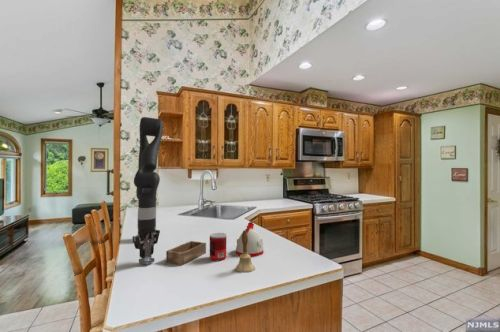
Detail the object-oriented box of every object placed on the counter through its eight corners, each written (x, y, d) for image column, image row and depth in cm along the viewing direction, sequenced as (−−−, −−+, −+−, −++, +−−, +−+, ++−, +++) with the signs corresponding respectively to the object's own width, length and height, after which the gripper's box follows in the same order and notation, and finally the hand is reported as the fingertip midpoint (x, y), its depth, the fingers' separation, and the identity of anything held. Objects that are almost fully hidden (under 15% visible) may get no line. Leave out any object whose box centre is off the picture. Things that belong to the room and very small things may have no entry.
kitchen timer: (267, 250, 131) (267, 221, 131) (257, 258, 118) (256, 226, 119) (243, 246, 137) (243, 219, 137) (230, 254, 124) (230, 224, 124)
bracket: (138, 262, 111) (139, 242, 111) (146, 259, 115) (146, 240, 115) (147, 264, 109) (147, 243, 109) (154, 261, 113) (154, 241, 113)
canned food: (229, 256, 121) (228, 233, 121) (221, 262, 114) (221, 237, 114) (214, 254, 124) (214, 232, 124) (206, 260, 116) (206, 236, 116)
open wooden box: (166, 262, 114) (166, 251, 114) (191, 250, 130) (191, 240, 130) (182, 265, 110) (182, 253, 110) (205, 253, 126) (205, 242, 126)
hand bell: (248, 274, 101) (248, 233, 101) (231, 269, 105) (231, 231, 105) (258, 267, 108) (258, 229, 108) (242, 263, 112) (242, 227, 112)
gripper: (152, 214, 120) (152, 250, 120) (127, 219, 107) (126, 260, 107) (164, 215, 117) (164, 252, 117) (140, 221, 104) (139, 262, 104)
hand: (146, 255), depth 112 cm, fingers closed on bracket, 4 cm apart
